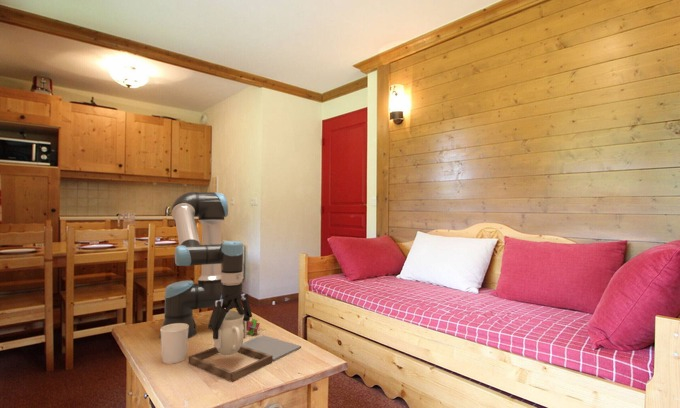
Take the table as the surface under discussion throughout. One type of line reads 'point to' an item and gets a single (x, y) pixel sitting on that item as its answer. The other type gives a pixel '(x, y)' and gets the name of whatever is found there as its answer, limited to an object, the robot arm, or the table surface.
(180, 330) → the candle holder
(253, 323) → the geometric puzzle
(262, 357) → the frame
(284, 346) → the slate board
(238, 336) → the pitcher
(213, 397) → the table surface
